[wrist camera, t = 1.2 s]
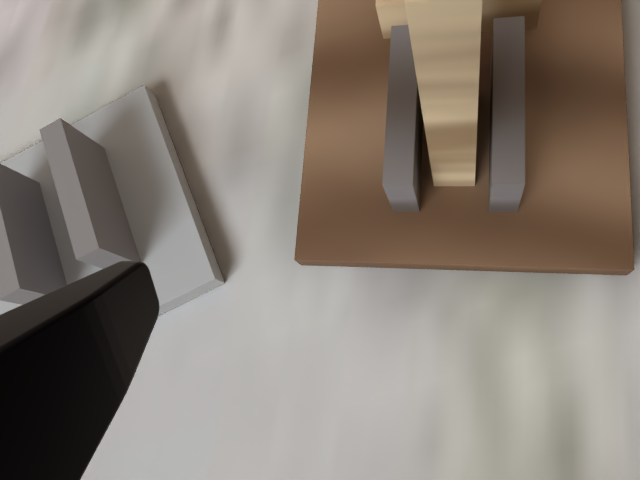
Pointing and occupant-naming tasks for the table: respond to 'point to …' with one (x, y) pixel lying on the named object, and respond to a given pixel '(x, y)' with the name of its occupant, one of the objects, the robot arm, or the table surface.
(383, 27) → the lower offcut
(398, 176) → the offcut rack
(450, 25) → the tan wooden block
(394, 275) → the table surface
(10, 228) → the slate stand
